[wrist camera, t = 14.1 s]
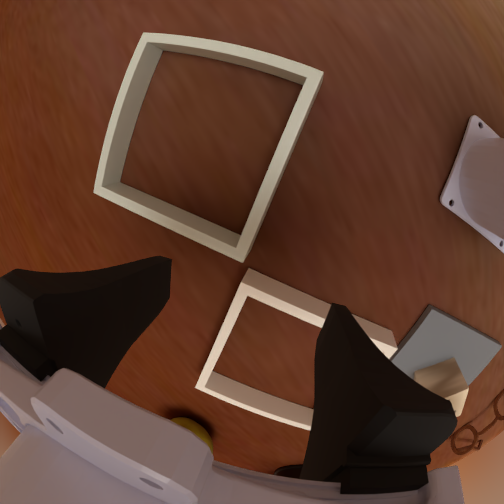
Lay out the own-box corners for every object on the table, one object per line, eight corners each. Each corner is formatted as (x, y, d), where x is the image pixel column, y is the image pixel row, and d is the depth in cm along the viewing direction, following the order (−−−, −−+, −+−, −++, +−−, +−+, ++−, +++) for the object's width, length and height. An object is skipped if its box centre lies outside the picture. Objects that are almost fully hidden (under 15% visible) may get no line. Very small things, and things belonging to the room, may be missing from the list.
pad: (499, 342, 19) (501, 346, 18) (428, 417, 24) (429, 421, 23) (429, 304, 19) (432, 309, 19) (349, 398, 24) (350, 403, 24)
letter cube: (454, 357, 20) (469, 389, 15) (449, 385, 21) (460, 415, 16) (414, 371, 21) (425, 405, 17) (412, 397, 22) (420, 430, 18)
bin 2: (391, 330, 21) (397, 348, 18) (316, 414, 26) (314, 431, 24) (248, 267, 21) (241, 282, 19) (203, 371, 27) (195, 387, 25)
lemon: (168, 396, 30) (141, 442, 23) (225, 418, 30) (206, 468, 22) (167, 431, 35) (147, 468, 27) (214, 449, 34) (198, 489, 26)
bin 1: (322, 82, 16) (323, 72, 13) (250, 250, 21) (242, 263, 19) (159, 41, 16) (143, 32, 14) (111, 187, 22) (93, 192, 19)
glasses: (511, 378, 20) (523, 401, 15) (532, 392, 20) (542, 411, 15) (447, 435, 25) (453, 460, 21) (479, 440, 25) (485, 460, 20)
